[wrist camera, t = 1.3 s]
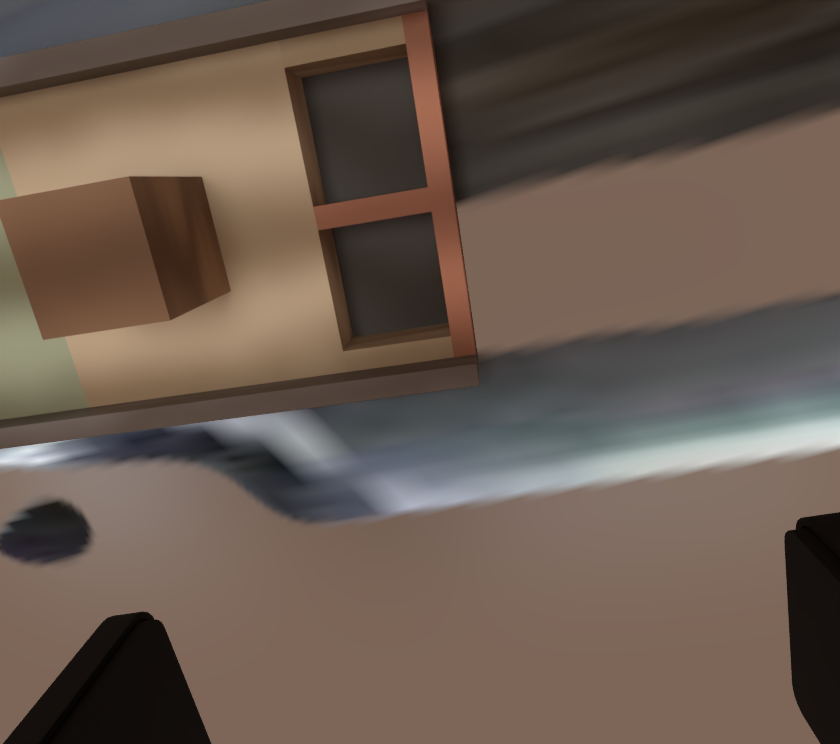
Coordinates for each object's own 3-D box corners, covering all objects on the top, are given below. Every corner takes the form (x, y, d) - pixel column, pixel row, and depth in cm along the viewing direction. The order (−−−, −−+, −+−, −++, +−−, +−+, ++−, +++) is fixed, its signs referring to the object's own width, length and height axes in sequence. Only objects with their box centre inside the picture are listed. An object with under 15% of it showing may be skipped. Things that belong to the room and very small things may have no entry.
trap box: (-146, 120, 30) (-248, 110, 25) (427, 2, 26) (419, -32, 22) (-23, 425, 34) (-93, 461, 30) (477, 356, 31) (479, 385, 27)
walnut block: (94, 196, 27) (-6, 201, 21) (201, 176, 26) (128, 176, 21) (128, 307, 28) (43, 339, 23) (231, 291, 28) (170, 320, 22)
